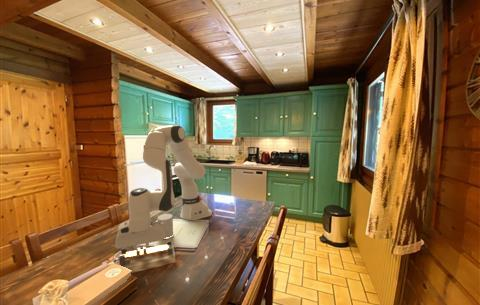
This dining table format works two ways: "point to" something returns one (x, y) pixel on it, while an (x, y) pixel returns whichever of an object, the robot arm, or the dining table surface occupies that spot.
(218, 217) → the dining table surface
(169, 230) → the cup
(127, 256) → the brown wooden bar
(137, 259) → the latch board
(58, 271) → the dining table surface
